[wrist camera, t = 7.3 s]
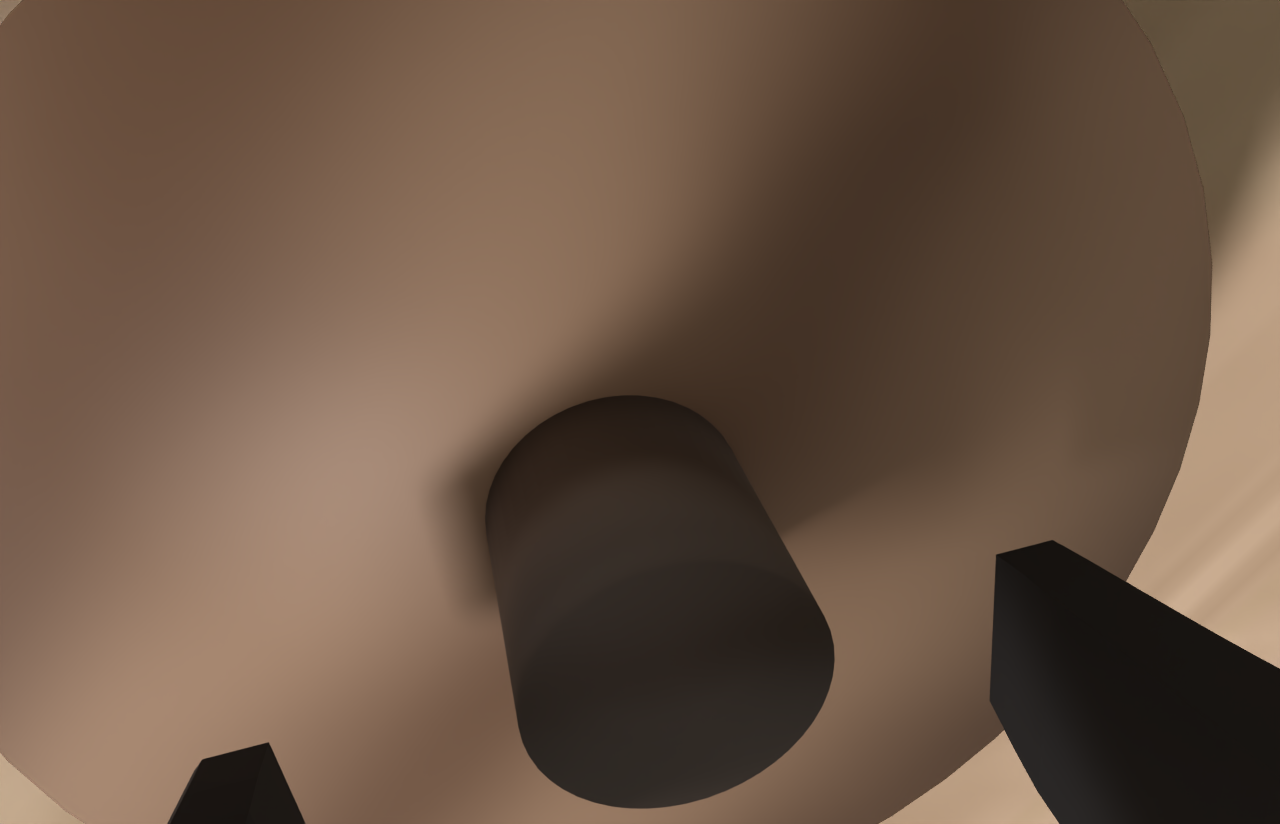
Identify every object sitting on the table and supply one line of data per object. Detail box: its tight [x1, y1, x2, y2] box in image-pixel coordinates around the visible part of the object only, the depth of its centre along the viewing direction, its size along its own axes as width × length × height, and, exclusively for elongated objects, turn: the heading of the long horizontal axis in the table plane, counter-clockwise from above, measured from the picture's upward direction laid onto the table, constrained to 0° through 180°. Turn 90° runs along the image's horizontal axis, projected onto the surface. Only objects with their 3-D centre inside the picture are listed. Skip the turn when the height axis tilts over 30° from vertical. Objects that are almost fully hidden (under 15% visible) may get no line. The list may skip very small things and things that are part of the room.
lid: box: [0, 0, 1212, 824], centre depth 12 cm, size 15×15×4 cm
